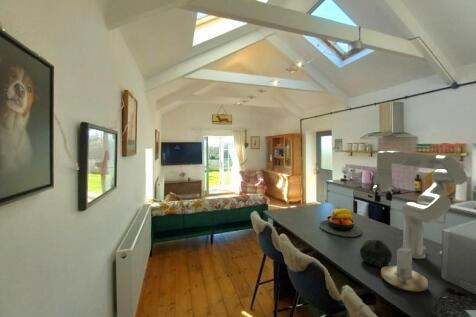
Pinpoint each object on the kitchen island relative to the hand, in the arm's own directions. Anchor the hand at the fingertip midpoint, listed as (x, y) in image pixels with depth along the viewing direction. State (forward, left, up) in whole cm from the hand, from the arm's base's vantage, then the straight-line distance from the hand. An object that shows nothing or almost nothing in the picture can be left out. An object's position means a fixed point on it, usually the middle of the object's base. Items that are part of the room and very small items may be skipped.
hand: (383, 201), depth 135 cm
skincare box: (+17, +23, -29) cm, 41 cm away
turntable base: (+17, +23, -33) cm, 44 cm away
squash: (+12, +5, -34) cm, 36 cm away
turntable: (+17, +23, -31) cm, 42 cm away
